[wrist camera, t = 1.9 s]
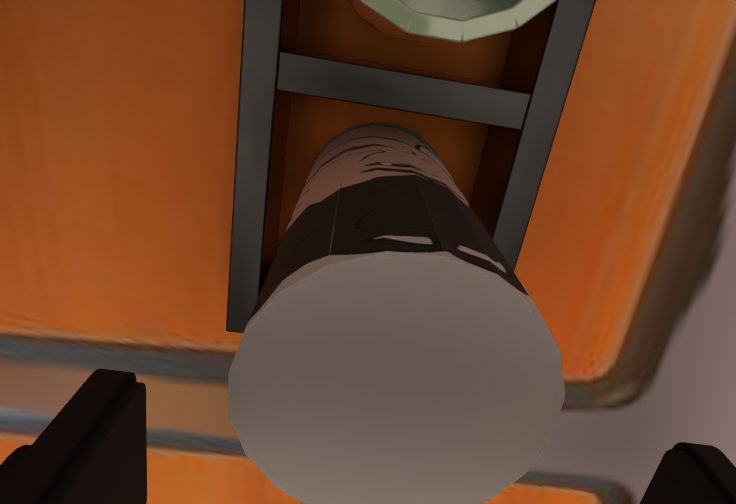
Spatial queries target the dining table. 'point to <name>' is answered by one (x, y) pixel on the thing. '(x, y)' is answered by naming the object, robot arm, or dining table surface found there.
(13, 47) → the dining table surface
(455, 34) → the green tumbler
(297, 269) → the cup
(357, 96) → the cup stand
